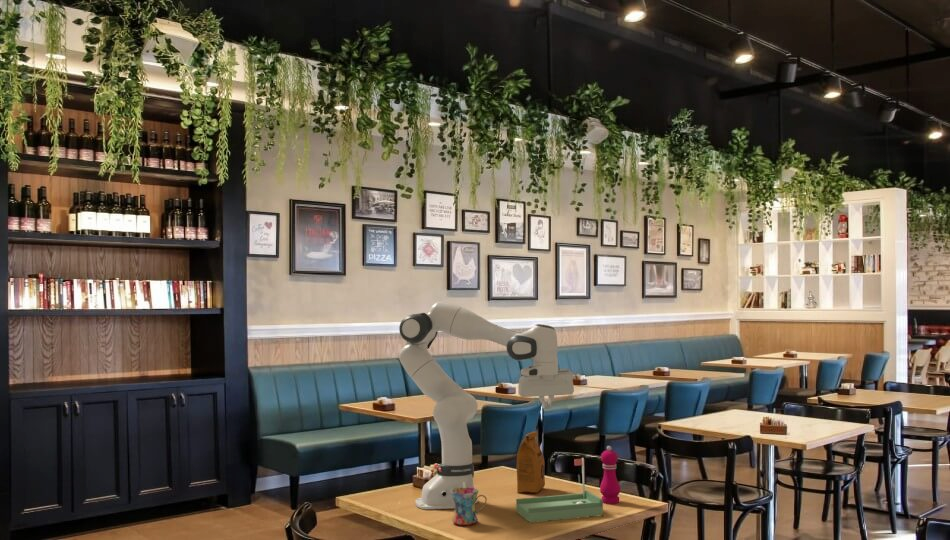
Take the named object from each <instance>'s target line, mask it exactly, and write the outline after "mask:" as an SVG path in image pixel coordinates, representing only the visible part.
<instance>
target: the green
mask: <svg viewBox="0 0 950 540" xmlns="http://www.w3.org/2000/svg"><path fill="white" fill-rule="evenodd" d="M573 462H574V464H573V465H574V466H575V467H576V466H581V474H582V475H581V476H582V477H581V478H582V480H581V481H582V492H581V493H567V494H558V495H547V496H534V497H533V496H532V497H525V498H516V513H517V514H518V513H519V514H518V515H520V516H521V517H522V518H523V517H524V518H523V519H524V520H526V521H527V522H528V521H529V522H528V523H530V522H531V523H538V522H537V521H542V522H549V521H548V520H552V521H559V519H563V520H570V519H569V518H573V519H579V518H578V517H584V518H588V517H587V516H594V517H598V516H597V515H603V516H604V512H603V511H604V509H603V504H604V503H603V499H602V497H600V496H597V495H596V494H594V493H592V492H591V491H589V490H587V489H586V488H585V486H586V485H585V459H584V457H581V458H576V459H575V458H574V461H573ZM579 501H580V502H583V503H579V504H576V503H577V502H579Z"/></svg>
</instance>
